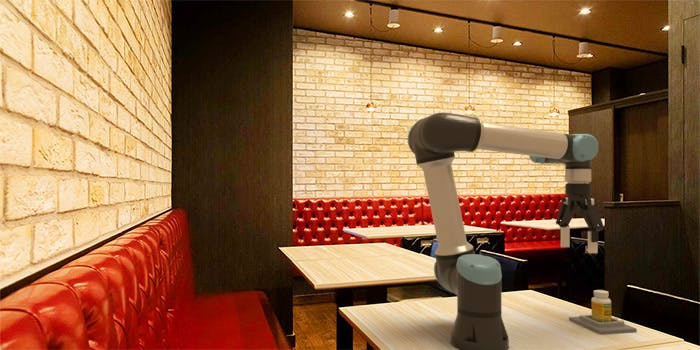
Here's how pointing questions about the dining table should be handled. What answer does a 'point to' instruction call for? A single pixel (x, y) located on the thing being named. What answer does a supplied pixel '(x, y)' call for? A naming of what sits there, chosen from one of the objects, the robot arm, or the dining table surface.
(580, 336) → the dining table surface
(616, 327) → the socket board
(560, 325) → the dining table surface
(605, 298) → the supplement bottle
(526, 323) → the dining table surface
